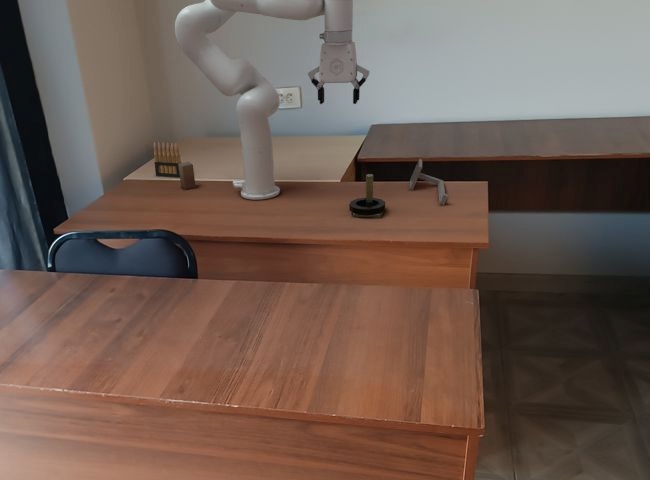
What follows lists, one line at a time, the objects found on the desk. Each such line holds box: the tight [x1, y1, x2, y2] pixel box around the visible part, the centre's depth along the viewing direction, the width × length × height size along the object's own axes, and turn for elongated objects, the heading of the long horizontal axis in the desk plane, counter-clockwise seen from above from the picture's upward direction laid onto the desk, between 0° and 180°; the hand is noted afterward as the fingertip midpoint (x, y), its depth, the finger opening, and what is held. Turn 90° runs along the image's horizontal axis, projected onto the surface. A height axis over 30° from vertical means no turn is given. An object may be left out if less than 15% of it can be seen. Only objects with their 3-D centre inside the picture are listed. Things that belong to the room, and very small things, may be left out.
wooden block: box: [178, 161, 196, 190], centre depth 224 cm, size 4×4×8 cm
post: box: [352, 173, 385, 219], centre depth 190 cm, size 8×8×11 cm
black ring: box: [348, 196, 386, 215], centre depth 192 cm, size 10×10×2 cm
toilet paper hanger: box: [409, 158, 449, 206], centre depth 203 cm, size 23×9×8 cm, turn 168°
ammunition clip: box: [153, 141, 183, 179], centre depth 236 cm, size 11×2×12 cm, turn 66°
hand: (338, 103), depth 191 cm, fingers open, 9 cm apart
